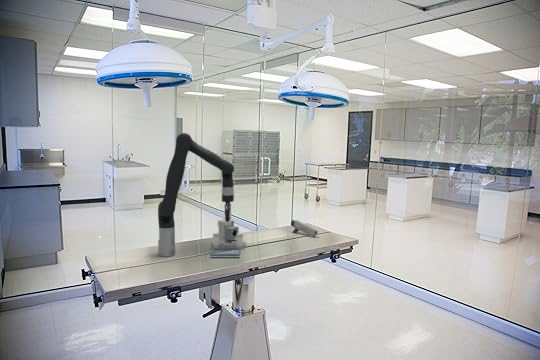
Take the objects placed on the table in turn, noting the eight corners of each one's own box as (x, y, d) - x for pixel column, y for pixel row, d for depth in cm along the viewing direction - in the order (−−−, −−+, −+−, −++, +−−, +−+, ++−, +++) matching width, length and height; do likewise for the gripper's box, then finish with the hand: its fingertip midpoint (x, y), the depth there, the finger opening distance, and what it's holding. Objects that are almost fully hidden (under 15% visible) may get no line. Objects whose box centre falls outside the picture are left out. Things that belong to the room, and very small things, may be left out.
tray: (210, 258, 208) (210, 254, 208) (213, 251, 222) (213, 247, 221) (239, 258, 209) (239, 254, 208) (240, 251, 222) (240, 247, 222)
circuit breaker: (232, 245, 236) (232, 223, 234) (217, 242, 244) (217, 220, 243) (240, 243, 242) (240, 221, 240) (225, 239, 250) (225, 219, 249)
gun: (290, 230, 277) (293, 218, 274) (315, 243, 260) (318, 230, 257) (288, 230, 275) (291, 218, 272) (313, 243, 258) (316, 231, 255)
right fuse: (236, 248, 225) (236, 234, 224) (237, 246, 228) (237, 232, 228) (242, 248, 225) (242, 234, 224) (242, 246, 228) (242, 232, 228)
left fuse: (213, 248, 224) (212, 234, 224) (213, 246, 228) (213, 232, 227) (218, 248, 224) (218, 234, 224) (219, 246, 228) (219, 232, 227)
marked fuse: (224, 225, 223) (224, 211, 222) (225, 224, 227) (225, 210, 226) (230, 225, 223) (230, 211, 222) (231, 224, 227) (231, 210, 226)
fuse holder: (209, 251, 222) (209, 243, 221) (212, 247, 231) (211, 240, 230) (244, 251, 222) (244, 243, 222) (245, 247, 231) (245, 240, 231)
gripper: (223, 192, 230) (223, 218, 232) (220, 195, 216) (220, 223, 218) (234, 192, 230) (234, 218, 232) (232, 195, 216) (232, 223, 218)
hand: (227, 220), depth 225 cm, fingers closed on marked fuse, 3 cm apart
